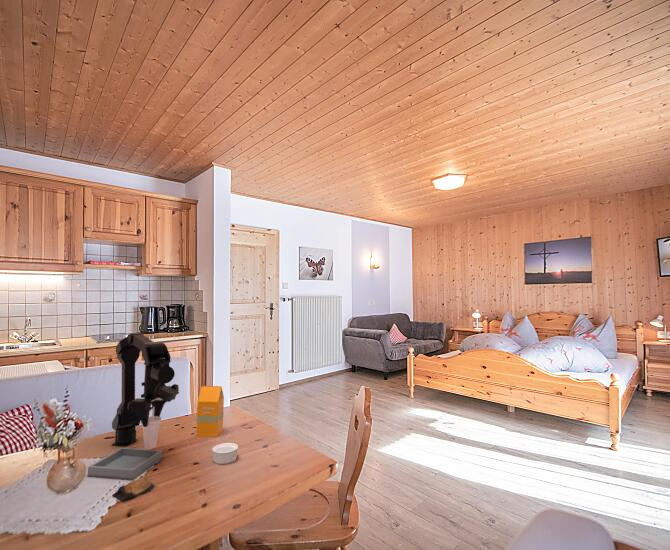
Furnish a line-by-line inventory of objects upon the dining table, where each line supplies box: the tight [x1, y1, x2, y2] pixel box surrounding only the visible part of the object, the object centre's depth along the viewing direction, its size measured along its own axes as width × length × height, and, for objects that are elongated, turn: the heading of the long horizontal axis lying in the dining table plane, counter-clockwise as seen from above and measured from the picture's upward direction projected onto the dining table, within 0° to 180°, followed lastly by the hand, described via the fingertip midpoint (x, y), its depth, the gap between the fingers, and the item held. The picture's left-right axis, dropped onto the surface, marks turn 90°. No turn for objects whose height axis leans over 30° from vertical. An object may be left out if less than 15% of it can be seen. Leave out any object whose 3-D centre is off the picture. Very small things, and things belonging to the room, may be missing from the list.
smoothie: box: [140, 406, 162, 450], centre depth 129 cm, size 6×6×14 cm
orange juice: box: [195, 385, 225, 438], centre depth 156 cm, size 8×9×20 cm
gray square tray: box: [87, 447, 163, 481], centre depth 123 cm, size 16×16×3 cm
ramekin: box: [211, 442, 239, 465], centre depth 131 cm, size 9×9×4 cm
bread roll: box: [111, 477, 159, 503], centre depth 108 cm, size 11×8×4 cm
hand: (151, 423), depth 129 cm, fingers closed on smoothie, 6 cm apart
